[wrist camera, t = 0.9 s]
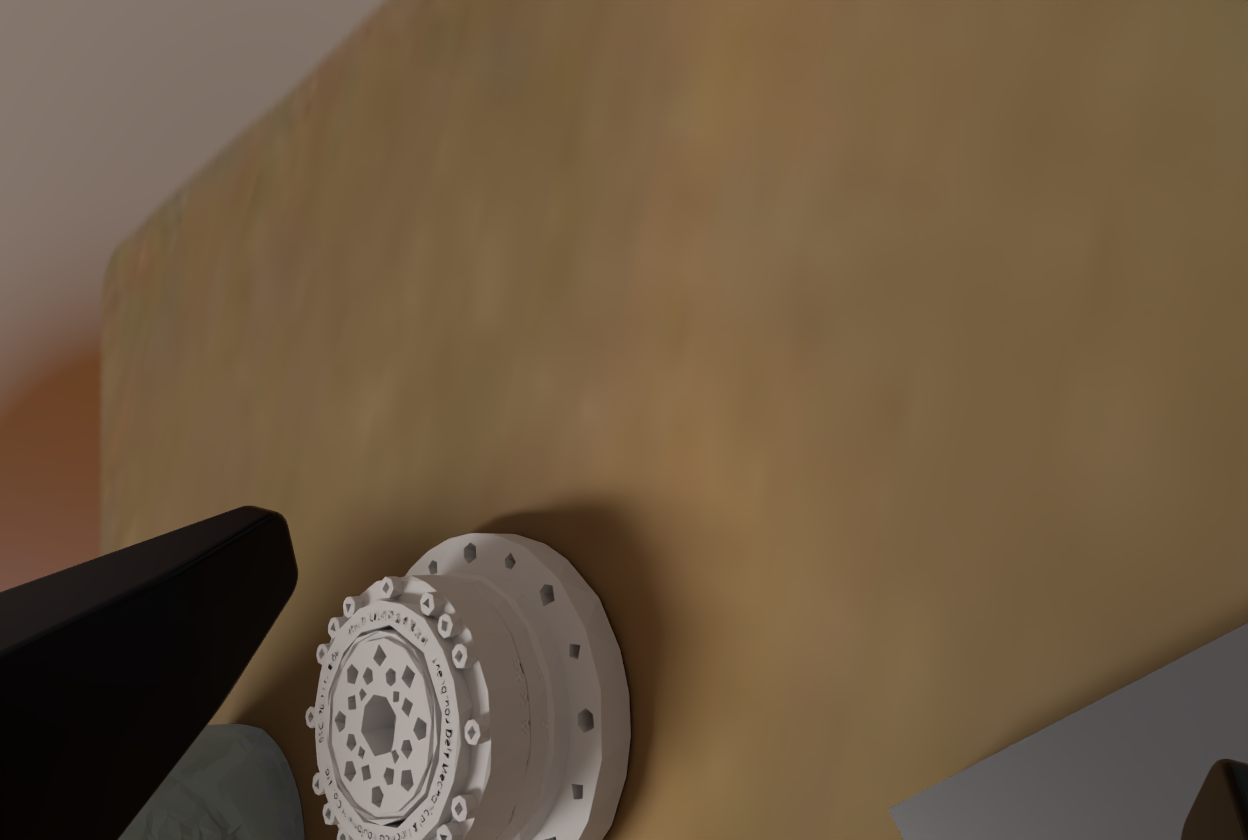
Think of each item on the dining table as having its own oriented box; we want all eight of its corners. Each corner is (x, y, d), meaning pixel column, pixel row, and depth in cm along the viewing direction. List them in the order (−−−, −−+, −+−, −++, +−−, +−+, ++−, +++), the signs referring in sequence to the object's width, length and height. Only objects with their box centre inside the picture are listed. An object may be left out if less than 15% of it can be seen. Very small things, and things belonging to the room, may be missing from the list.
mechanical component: (705, 719, 23) (506, 466, 29) (579, 743, 19) (383, 451, 25) (509, 973, 26) (366, 697, 32) (372, 1030, 23) (241, 711, 28)
